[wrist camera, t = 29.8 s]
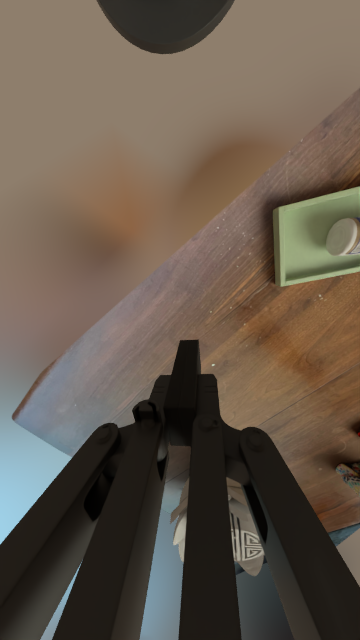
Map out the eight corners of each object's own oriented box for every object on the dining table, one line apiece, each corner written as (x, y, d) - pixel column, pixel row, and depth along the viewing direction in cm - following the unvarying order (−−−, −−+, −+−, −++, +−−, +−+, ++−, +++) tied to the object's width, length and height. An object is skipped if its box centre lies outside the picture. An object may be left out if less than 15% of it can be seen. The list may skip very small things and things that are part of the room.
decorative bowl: (275, 501, 58) (300, 580, 44) (184, 499, 61) (181, 572, 47) (279, 435, 47) (315, 512, 33) (170, 438, 51) (161, 508, 37)
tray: (275, 284, 34) (280, 286, 32) (272, 210, 30) (278, 207, 27) (393, 261, 31) (408, 262, 29) (408, 175, 27) (427, 168, 25)
